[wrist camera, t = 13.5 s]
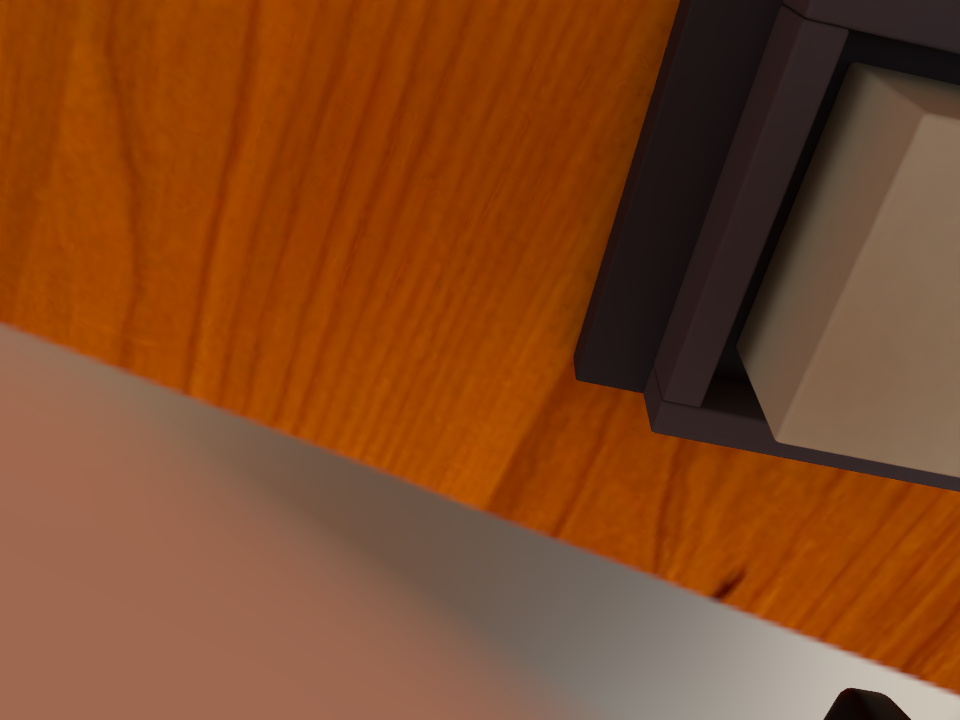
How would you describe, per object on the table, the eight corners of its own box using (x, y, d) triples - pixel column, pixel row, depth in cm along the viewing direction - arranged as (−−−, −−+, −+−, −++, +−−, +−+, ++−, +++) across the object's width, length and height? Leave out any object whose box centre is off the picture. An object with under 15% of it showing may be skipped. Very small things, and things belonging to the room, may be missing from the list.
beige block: (913, 382, 19) (986, 484, 16) (733, 346, 19) (774, 444, 16) (1060, 107, 16) (1183, 169, 13) (849, 59, 16) (926, 112, 13)
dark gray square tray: (987, 439, 21) (1039, 509, 19) (572, 357, 20) (579, 419, 18) (1223, 50, 17) (1328, 83, 14) (701, -72, 16) (729, -57, 14)
